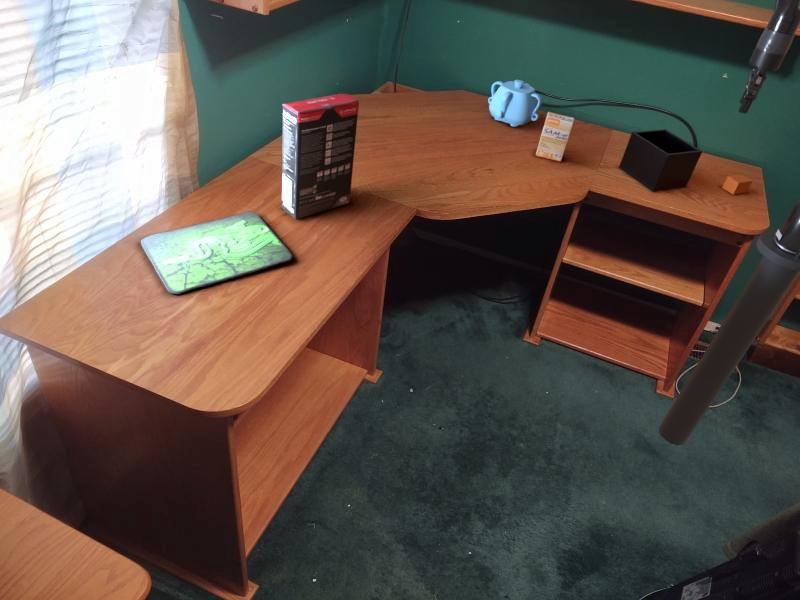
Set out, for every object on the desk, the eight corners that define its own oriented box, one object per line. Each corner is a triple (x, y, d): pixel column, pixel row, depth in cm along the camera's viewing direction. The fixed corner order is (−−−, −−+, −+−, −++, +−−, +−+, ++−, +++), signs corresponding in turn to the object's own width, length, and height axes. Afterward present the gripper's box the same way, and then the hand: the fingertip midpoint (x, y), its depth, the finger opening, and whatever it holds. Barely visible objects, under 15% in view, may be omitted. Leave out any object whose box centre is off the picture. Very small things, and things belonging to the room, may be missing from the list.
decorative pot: (490, 126, 201) (499, 87, 193) (484, 108, 214) (492, 70, 205) (537, 131, 203) (547, 92, 194) (528, 113, 215) (538, 75, 206)
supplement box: (534, 156, 187) (546, 116, 179) (536, 150, 191) (547, 110, 182) (561, 162, 186) (573, 122, 177) (562, 156, 189) (574, 116, 181)
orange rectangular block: (746, 192, 184) (752, 180, 181) (732, 194, 182) (739, 182, 179) (735, 185, 187) (741, 174, 184) (721, 187, 185) (727, 176, 182)
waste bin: (686, 186, 182) (702, 151, 175) (652, 191, 177) (668, 155, 170) (651, 163, 193) (665, 128, 185) (618, 167, 188) (632, 132, 180)
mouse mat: (170, 297, 117) (170, 293, 116) (137, 240, 130) (136, 236, 129) (296, 261, 131) (296, 257, 130) (254, 213, 144) (254, 209, 143)
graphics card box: (336, 192, 156) (342, 89, 139) (353, 204, 152) (360, 99, 135) (280, 209, 146) (279, 101, 129) (296, 222, 143) (297, 113, 125)
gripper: (787, 58, 151) (756, 119, 161) (786, 45, 161) (757, 104, 171) (756, 51, 153) (727, 112, 163) (757, 39, 163) (730, 97, 174)
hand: (742, 108), depth 167 cm, fingers open, 8 cm apart
